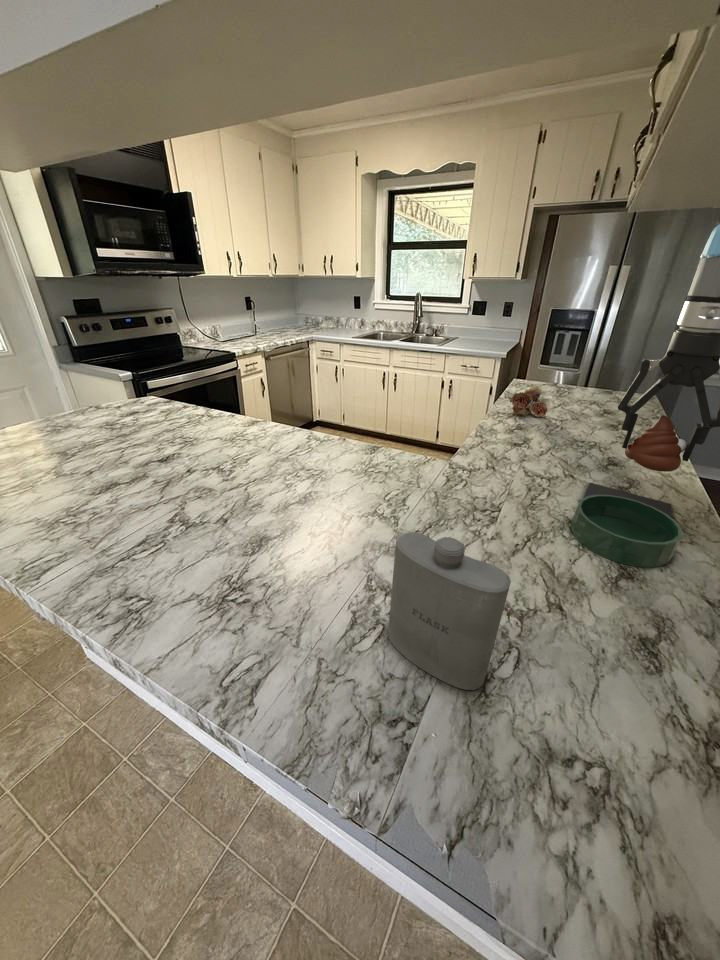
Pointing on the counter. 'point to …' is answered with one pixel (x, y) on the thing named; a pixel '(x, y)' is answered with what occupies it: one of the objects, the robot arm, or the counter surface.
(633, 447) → the poop emoji
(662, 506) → the mat
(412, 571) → the flask
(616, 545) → the green round dish
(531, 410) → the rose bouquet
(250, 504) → the counter surface
